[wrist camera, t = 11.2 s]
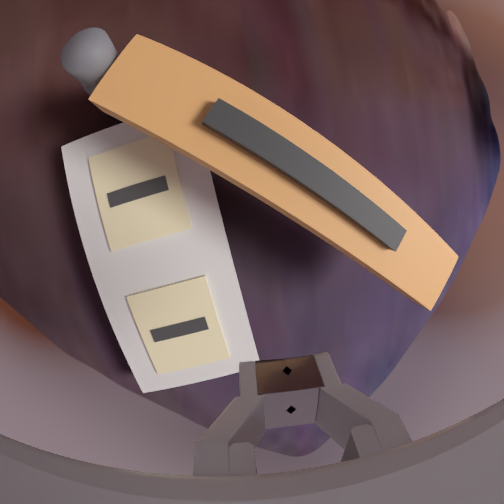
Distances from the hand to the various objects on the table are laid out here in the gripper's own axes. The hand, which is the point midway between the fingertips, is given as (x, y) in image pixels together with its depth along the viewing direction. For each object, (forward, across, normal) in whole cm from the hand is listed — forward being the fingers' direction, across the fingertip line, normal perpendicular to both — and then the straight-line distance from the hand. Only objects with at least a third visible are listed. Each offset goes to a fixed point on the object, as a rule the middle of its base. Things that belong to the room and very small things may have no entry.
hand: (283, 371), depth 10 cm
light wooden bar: (+12, -2, -5) cm, 13 cm away
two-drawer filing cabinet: (+19, +9, 0) cm, 21 cm away
